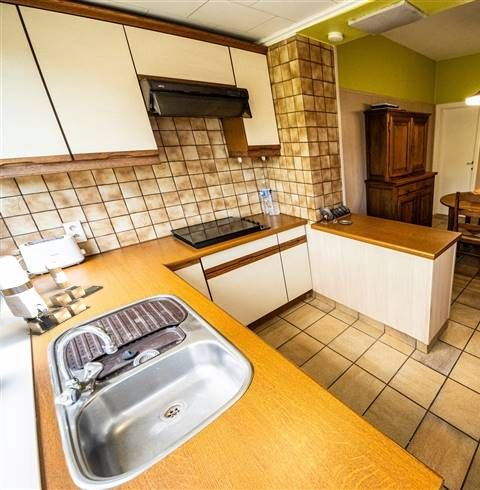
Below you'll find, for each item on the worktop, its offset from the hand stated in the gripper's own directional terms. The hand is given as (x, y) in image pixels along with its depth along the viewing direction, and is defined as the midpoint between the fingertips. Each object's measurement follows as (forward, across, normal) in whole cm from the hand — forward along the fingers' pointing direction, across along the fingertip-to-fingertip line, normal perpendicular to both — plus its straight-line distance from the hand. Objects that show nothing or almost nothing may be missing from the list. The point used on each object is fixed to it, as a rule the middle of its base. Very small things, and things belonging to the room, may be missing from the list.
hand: (43, 327), depth 104 cm
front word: (+2, 0, +6) cm, 6 cm away
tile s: (+1, 0, 0) cm, 1 cm away
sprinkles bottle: (+2, -34, +29) cm, 45 cm away
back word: (+2, -14, +21) cm, 25 cm away
